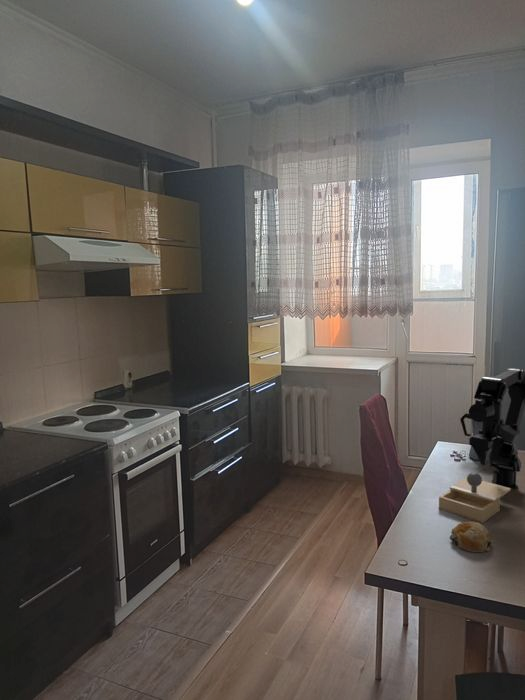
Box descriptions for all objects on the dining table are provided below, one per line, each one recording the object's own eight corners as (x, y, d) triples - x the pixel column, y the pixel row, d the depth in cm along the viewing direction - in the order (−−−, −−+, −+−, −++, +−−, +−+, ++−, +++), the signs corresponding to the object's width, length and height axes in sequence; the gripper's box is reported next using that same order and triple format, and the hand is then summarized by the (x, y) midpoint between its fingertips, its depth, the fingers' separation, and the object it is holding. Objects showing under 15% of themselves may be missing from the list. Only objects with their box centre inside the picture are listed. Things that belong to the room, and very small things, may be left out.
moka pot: (503, 463, 201) (505, 413, 199) (461, 461, 204) (463, 412, 202) (497, 454, 211) (499, 407, 208) (457, 453, 214) (458, 406, 211)
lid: (467, 478, 176) (468, 458, 175) (510, 490, 166) (511, 469, 165) (449, 489, 168) (449, 469, 167) (493, 502, 157) (494, 480, 156)
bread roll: (479, 568, 137) (494, 546, 134) (443, 544, 141) (457, 522, 138) (485, 551, 145) (499, 529, 142) (451, 528, 149) (464, 507, 146)
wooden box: (456, 497, 172) (457, 485, 171) (499, 510, 161) (500, 498, 161) (438, 508, 164) (439, 496, 163) (482, 523, 153) (482, 510, 153)
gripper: (504, 426, 156) (502, 475, 158) (528, 414, 168) (526, 460, 171) (468, 419, 164) (467, 466, 166) (494, 408, 177) (492, 452, 179)
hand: (489, 461), depth 170 cm, fingers open, 9 cm apart
